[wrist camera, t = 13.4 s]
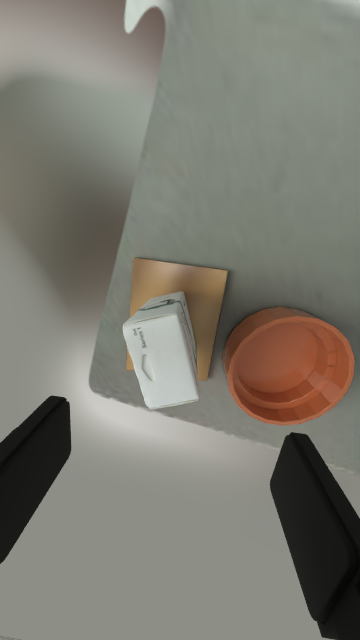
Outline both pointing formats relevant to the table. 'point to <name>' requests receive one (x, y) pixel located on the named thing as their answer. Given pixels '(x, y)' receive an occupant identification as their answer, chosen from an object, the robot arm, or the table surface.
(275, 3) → the table surface
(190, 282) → the wooden board
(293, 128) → the table surface
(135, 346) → the ink box
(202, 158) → the table surface
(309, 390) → the bowl
